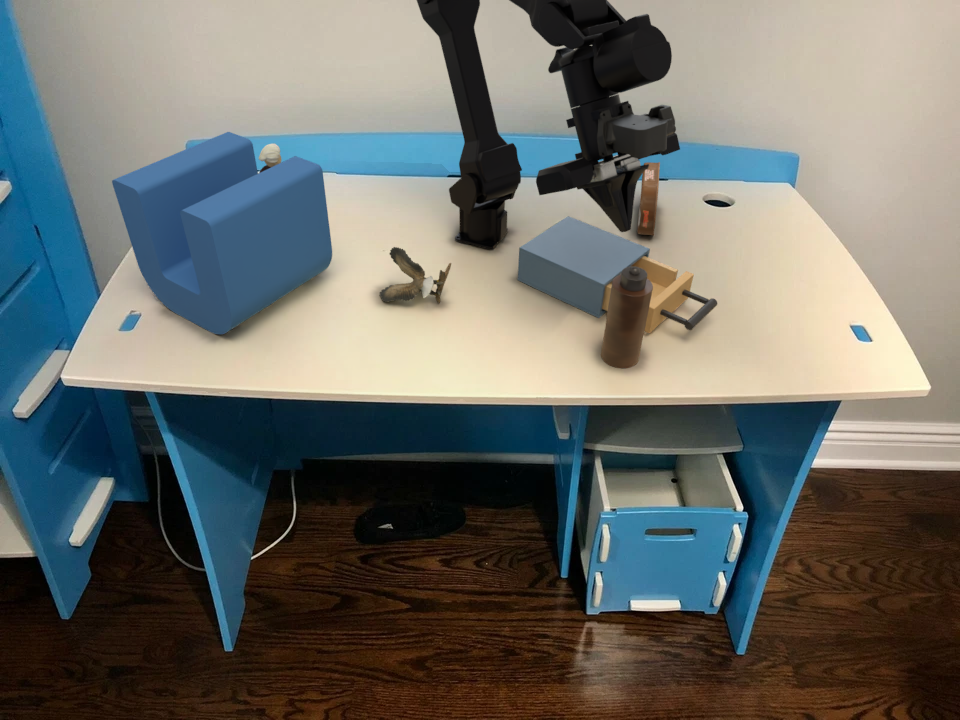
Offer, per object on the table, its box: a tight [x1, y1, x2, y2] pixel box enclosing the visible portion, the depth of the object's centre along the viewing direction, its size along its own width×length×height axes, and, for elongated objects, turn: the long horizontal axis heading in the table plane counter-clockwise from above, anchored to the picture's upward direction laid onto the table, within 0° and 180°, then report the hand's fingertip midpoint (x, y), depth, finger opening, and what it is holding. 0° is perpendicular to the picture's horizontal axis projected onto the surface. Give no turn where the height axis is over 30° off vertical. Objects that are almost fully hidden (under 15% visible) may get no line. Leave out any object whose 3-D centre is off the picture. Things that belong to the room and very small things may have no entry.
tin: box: [636, 161, 661, 237], centre depth 121 cm, size 15×3×8 cm, turn 168°
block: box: [111, 131, 333, 335], centre depth 100 cm, size 18×18×18 cm
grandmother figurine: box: [258, 143, 282, 174], centre depth 118 cm, size 8×4×13 cm, turn 58°
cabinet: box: [517, 215, 651, 319], centre depth 108 cm, size 14×12×6 cm
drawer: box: [602, 256, 718, 334], centre depth 103 cm, size 18×11×4 cm, turn 50°
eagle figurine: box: [379, 246, 452, 304], centre depth 104 cm, size 8×7×9 cm
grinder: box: [600, 266, 653, 369], centre depth 92 cm, size 5×5×13 cm
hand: (625, 231), depth 92 cm, fingers closed
